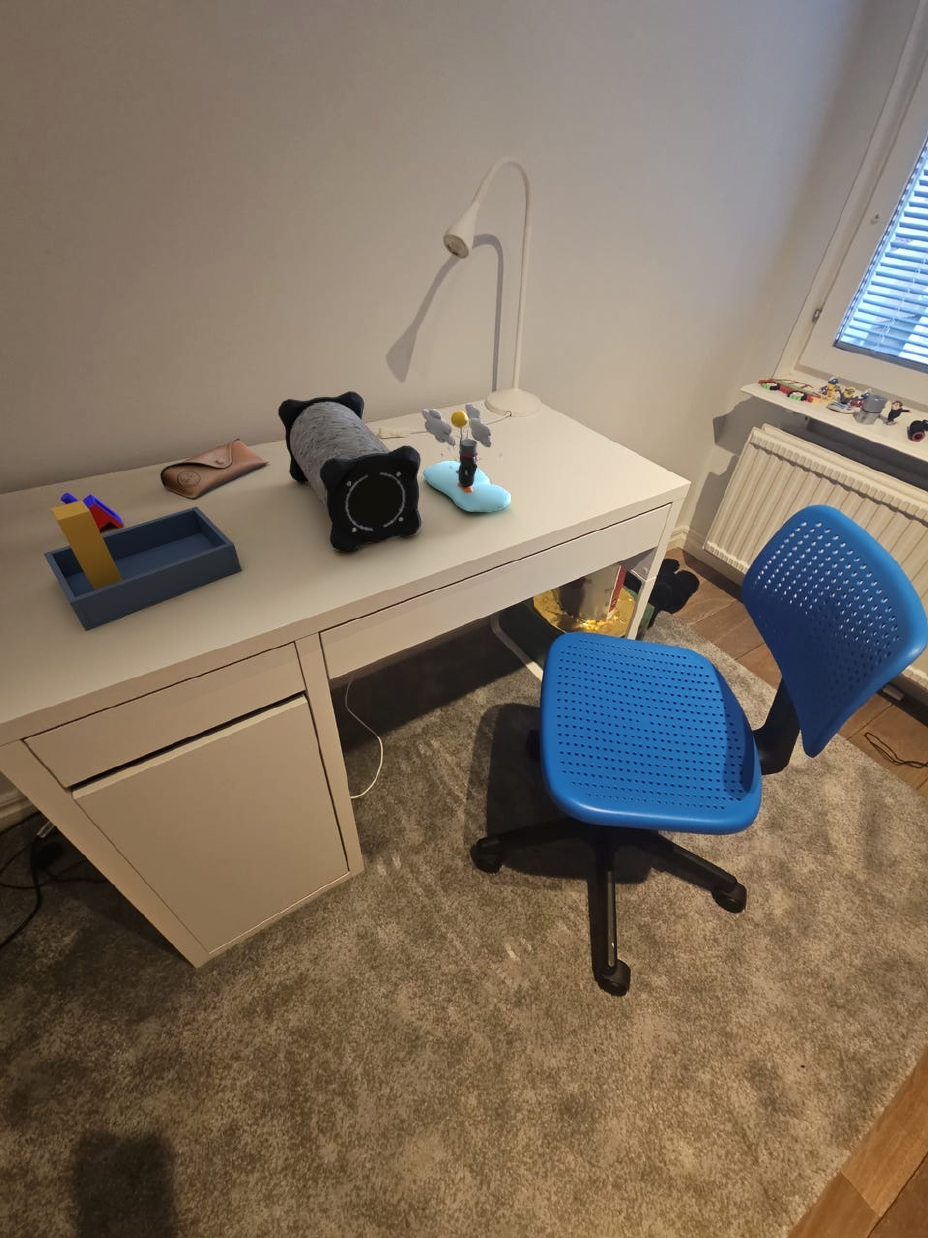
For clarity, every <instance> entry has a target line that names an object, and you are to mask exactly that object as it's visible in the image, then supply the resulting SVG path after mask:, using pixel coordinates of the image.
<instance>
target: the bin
mask: <svg viewBox="0 0 928 1238" xmlns="http://www.w3.org/2000/svg"><path fill="white" fill-rule="evenodd" d="M101 536H102V538H103V540H104V542H105V544H106V546H107V548H108V550H109V552H110V554H111V557H112V559H113V561H114V563H115V565H116V567H117V569H118V571H119V573H120V575H121V577H122V579H123V581H120V582H117V583H114V584H111V585H109V586H106V587H103V588H100V589H97V590H94V589H93V588H92V586H91V584H90V582H89V580H88V579H87V577H86V575H85V573H84V571H83V569H82V567H81V565H80V564H79V562H78V560H77V558H76V556H75V554H74V552H73V550H72V549H71V547H70V545H69V544H68V545H67V546H63V547H60V548H56V549H54V550H51V551H47V552H44V553H43V556H44V557H45V559H46V561H47V563H48V565H49V567H50V569H51V571H52V573H53V575H54V576H55V579H56V580H57V582H58V584H59V586H60V588H61V590H62V592H63V593H64V595H65V597H66V599H67V601H68V604H69V605H70V606H71V608H72V610H73V612H74V614H75V615H76V617H77V618H78V621H79V623H80V624H81V625H82V627H83V629H84V630H85V631H89V630H91V629H95V628H96V627H100V626H101V625H104V624H107V623H110V622H112V621H114V620H117V619H121V618H123V617H125V616H127V615H131V614H133V613H136V612H138V611H141V610H144V609H147V608H148V607H151V606H153V605H154V606H155V605H156V604H160V603H161V602H162V603H163V601H167V600H170V599H172V598H174V597H177V596H180V595H182V594H185V593H188V592H190V591H192V590H195V589H198V588H200V587H202V586H206V585H208V584H211V583H213V582H215V581H218V580H221V579H223V578H226V577H229V576H231V575H234V574H237V573H239V572H241V571H242V566H241V562H240V559H239V556H238V553H237V549H236V546H235V543H234V542H233V541H232V540H231V539H230V538H229V537H227V535H226V534H225V533H224V532H223V531H222V530H221V529H220V528H219V527H218V526H217V525H216V524H215V523H214V522H213V521H212V520H211V519H210V518H209V517H208V516H207V515H206V514H205V513H204V512H203V511H202V510H201V509H200V508H199V507H198V506H193V507H190V508H187V509H183V510H180V511H177V512H174V513H170V514H167V515H163V516H161V517H158V518H154V519H150V520H148V521H145V522H141V523H138V524H135V525H132V526H128V527H125V528H122V529H121V528H120V529H119V530H115V531H112V532H109V533H105V534H103V535H102V534H101Z"/></svg>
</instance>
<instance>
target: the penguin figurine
mask: <svg viewBox="0 0 928 1238" xmlns="http://www.w3.org/2000/svg"><path fill="white" fill-rule="evenodd" d="M464 409H465V411H463V410H461V409H458V410H455V411H453V413H452V414H451V415H450V422H451V424H452V425H453V427H455V428H457V429H460V430H459V433H460V436H458V435H457V437H458V438H459V445H458V447H459V448H458V449H459V451H458V454H459V461H458V458H457V457H454V460H444V461H440V462H438V463H435V464H433V465H431V466H428V467H426V468H424V470H422V475H423V477H424V479H425V480H426V482H427V483H428V484H429V485H430V486H432V487H433V488H435V489H436V490H437V491H440V492H441V493H443V494H445V495H446V496H448V497H449V498H450V499H452V501H453V503H454V504H455V505H456V506H457V507H458V508H460V509H462V510H463V511H466V512H471V513H472V512H473V513H474V512H475V513H478V512H481V513H491V512H497V511H500V510H504V508H506V507H508V506H509V505H510V503H511V500H512V496H511V494H510V493H509V492H508V491H507V490H506V489H504V488H503V487H501V486H499V485H496V484H493V483H490V479H489V477H488V476H487V473H486V472H483V471H482V470H481V469H479V468H478V464H477V462H478V461H481V460H482V458H479V457H478V454H479V453H478V442H480V444H481V445H483V446H484V447H485V448H488V449H489V448H491V447H492V439H491V436H492V430H491V428H490V427H489V426H488V425H487V424H485V423H484V422H482V419H481V416H482V415H481V411H480V409H479V408H477V407H476V406H474V405H473V404H471V403H466V404H465V406H464ZM421 415H422V417H423V418H424V419H425V421H424V429H425V430H426V432H428V433H429V434H430V435H433V436H434V438H435V440H436V441H437V442H438V443H441V444H443V443H444V444H445V443H446V444H448V445H449V446H447V449H448V451H451V450H450V449H451V448H450V446H451V447H452V449H453V450H456V445H457V444H456V440H455V439H454V436H452V431H453V429H452V426H451V425H450V424H449V423H448V421H446V420H445V419H444V418H443V415H442V413H441V412H440V411H439V410H438V409H435V408H430V409H425V408H422V410H421ZM466 425H467V426H466ZM468 426H469V429H470V434H471V437H472V439H470V438H469V437H468V435H469V430H467V429H466V428H467V427H468ZM465 427H466V428H465ZM463 428H465V429H466V436H465V437H464V435H463V432H464V431H465V429H463ZM464 438H465V439H464ZM498 455H499V457H502V453H501V452H499V454H498ZM440 456H441V458H443V457H444V453H440Z"/></svg>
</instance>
